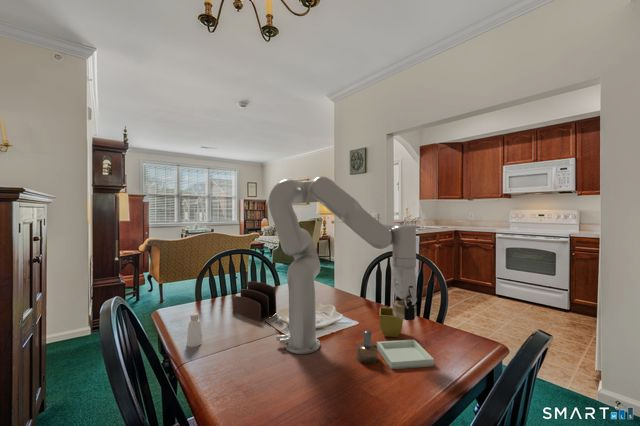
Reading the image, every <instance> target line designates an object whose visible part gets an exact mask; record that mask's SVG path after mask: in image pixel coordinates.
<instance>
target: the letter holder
mask: <svg viewBox="0 0 640 426" xmlns="http://www.w3.org/2000/svg"><path fill="white" fill-rule="evenodd" d="M276 292H277V290H276V288H275V286H273V285H269V284H267V283H264V282H259V281H253V280H249V281H247V288H241V289H240V295H234V296H233V297H232V313H234V314H236V313H237V315H239V316H242V317H245V318H247V319H251V320H253V321H256V322H259V323H261V322H265V321H266V320H265V319H267V318H269V317H272V316H273V315H274V314H275V313H277V295H276ZM272 318H273V317H272ZM269 319H270V318H269ZM267 320H268V319H267Z"/></svg>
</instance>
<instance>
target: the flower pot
mask: <svg viewBox="0 0 640 426" xmlns="http://www.w3.org/2000/svg"><path fill="white" fill-rule="evenodd" d="M403 322H404V319H399V318H396V317H395V316H394V315H393V307H379V323H380V329H381V332H382V335H383V336H384V337H391V338H398V337H399V336H400V334H401V333H402V329H403Z"/></svg>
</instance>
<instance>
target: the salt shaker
mask: <svg viewBox="0 0 640 426" xmlns="http://www.w3.org/2000/svg"><path fill="white" fill-rule="evenodd" d="M189 317H190V320H189V321H188V327H187V336H186V346H188V348H195V346H196V347H199V346H201V345H202V342H203V334H202V327H201V326H202V325H201V320H200V319H199V313H198V312H193V313H191V314H190V316H189ZM198 345H199V346H198Z"/></svg>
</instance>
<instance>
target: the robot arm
mask: <svg viewBox="0 0 640 426" xmlns="http://www.w3.org/2000/svg"><path fill="white" fill-rule="evenodd" d="M310 203H320V204H321V205H322V206H323V207H324V208H326V209H327V210H328V211H330V212H331V213H333V214H334V216H336V217H337V218H338V219H339V220H341V221H342V223H343V224H345V225H346V226H347V227H348V228H350V229H351V231H352V232H354V233H355V234H356V235H357V236H359V237H360V238H361V239H362V240H364V241H365V242H366V243H367V244H369V245H370V246H371V247H373V248H374V249H377V250H383V249H386V248H388V247H389V246H390V245H392V274H391V291H392V293H393V295H394V302H395V301H398V300H404V301H405V306H406V307H404V319H405V321H414V320H415V319H416V317H415V305H416V306H417V304H416V303H417V301H418V297H417V277H416V276H417V275H416V268H417V230H416V227H415V226H414V225H410V224H397V225H393V224H384V223H381V222H380V221H379V220H377V219H376V218H374V217H373V216H372V215H371V214H370V213H369V212H368V211H367V210H366V209H365V208H363V206H362V205H361V204H360V203H359V201H358V200H356V199H355V198H354V197H353V196H351V195H350V194H349V193H347V192H346V191H345V190H344V189H342V188H341V187H340V186H339V185H337V184H336V182H335V181H334V180H333V179H331V178H329V177H327V176H317V177H316V178H314V179H313V180H304V181H298V180H294V179H288V178H287V179H286V178H285V179H282V180H281V181H280V180H279V182H277V183H276V184H274V186H273V187H272V189H271V191H270V193H269V197H268V209H269V212H270V216H271V218H272V221H273V225H274V229H275V231H276V234H277V238H278V241H279V243H280V247H281V250H282V252H283V253H284V254H286V255H287V256H289V257H293V259H294V260H293V261H292V262H291V263H290V265H288V268H287V272H286V280H287V288H288V331H287V333H285V334H277V335H276V342H277V341H278V342H279V344H284V348H285V350H286V351H287V352H289V353H291V354H296V355H306V354H311V353H314V352H316V351H317V350H319V348H320V346H321V341H320V340H319V338H317V337H316V336H317V335H316V331H317V330H316V325H317V324H316V311H317V310H316V304H317V303H316V302H317V301H316V287H315V286H316V284H315V279H316V277H317V276H318V275H319V274H320V271H321V268H322V267H321V262H320V258H319V255H318V252H317V249H316V245H315V242H314V240H313V238H312V236H311V234H310V233H309V231H308V230H306V229H305V228H302V227H301V226H300V223H299V219H298V216H297V214H296V211H295V210H294V206H293V204H297V205H298V204H310ZM408 301H409V303H408ZM404 319H403V320H404Z"/></svg>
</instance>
